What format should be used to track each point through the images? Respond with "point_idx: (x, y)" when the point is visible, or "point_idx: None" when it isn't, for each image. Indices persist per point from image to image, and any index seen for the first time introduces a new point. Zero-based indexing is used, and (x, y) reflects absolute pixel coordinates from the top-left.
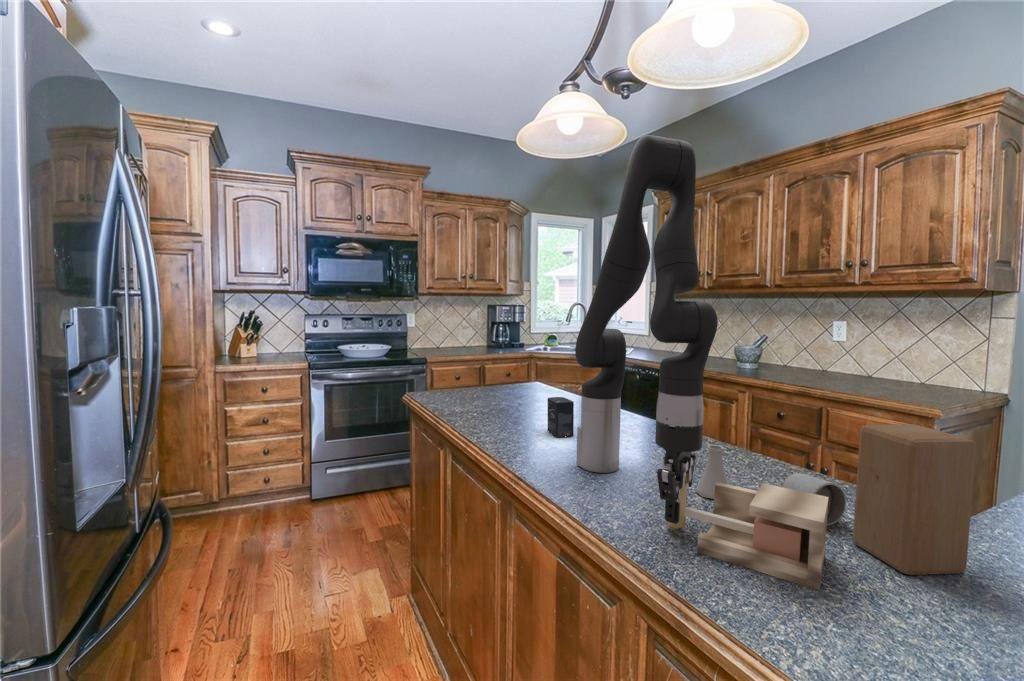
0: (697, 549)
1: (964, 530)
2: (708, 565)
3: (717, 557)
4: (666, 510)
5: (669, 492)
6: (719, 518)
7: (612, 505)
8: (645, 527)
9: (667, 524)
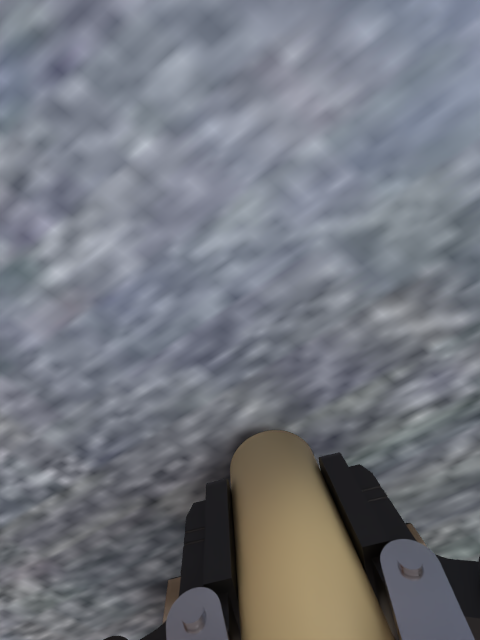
0: (167, 590)
1: None
2: (122, 632)
3: None
4: (184, 547)
5: (244, 637)
6: None
7: (270, 84)
8: (184, 366)
9: (234, 456)
